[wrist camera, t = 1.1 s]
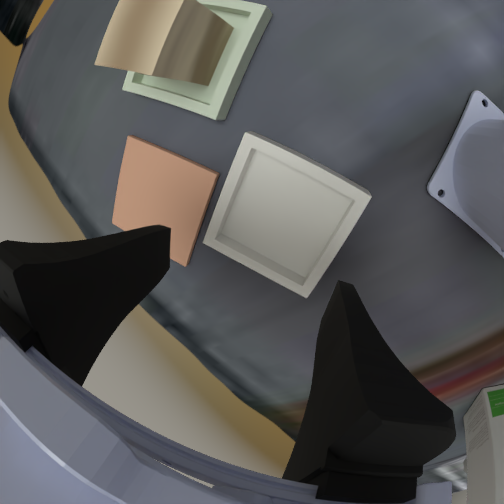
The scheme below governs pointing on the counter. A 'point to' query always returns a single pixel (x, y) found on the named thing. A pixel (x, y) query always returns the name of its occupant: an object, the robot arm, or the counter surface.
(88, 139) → the counter surface
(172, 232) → the terracotta pad
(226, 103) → the sage green tray
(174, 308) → the counter surface
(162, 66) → the brown block
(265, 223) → the light grey tray
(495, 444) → the skincare box
